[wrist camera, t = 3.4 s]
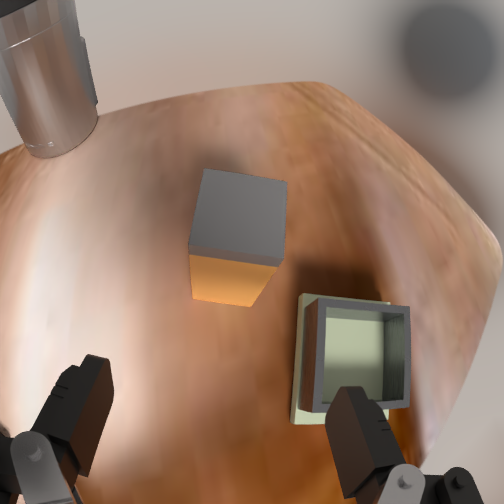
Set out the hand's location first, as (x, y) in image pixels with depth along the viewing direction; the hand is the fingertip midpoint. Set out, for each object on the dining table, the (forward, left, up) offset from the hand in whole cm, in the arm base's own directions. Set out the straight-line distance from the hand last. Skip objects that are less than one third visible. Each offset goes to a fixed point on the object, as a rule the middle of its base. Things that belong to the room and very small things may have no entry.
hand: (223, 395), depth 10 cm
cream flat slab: (-3, +10, -12) cm, 16 cm away
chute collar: (-3, +10, -11) cm, 15 cm away
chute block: (-9, 0, -12) cm, 15 cm away
